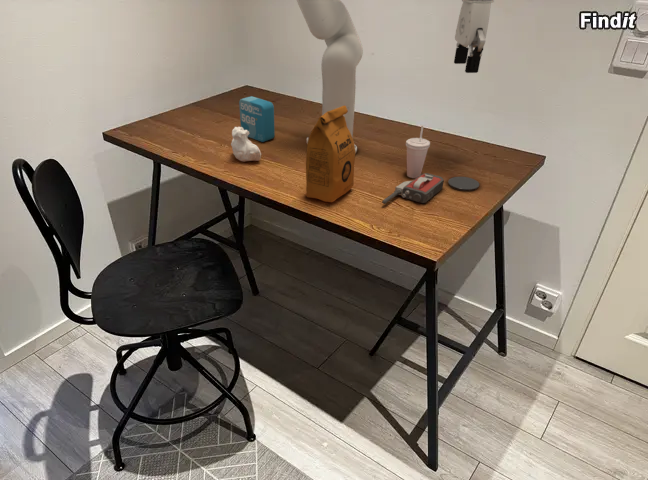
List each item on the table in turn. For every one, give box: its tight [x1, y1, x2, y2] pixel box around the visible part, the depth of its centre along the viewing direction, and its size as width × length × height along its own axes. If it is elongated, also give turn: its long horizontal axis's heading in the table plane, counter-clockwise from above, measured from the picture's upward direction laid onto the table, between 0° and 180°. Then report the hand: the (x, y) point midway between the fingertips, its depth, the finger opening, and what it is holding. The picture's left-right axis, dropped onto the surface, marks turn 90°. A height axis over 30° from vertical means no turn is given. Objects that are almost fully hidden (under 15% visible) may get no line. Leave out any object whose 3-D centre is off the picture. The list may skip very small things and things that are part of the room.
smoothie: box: [405, 125, 431, 179], centre depth 140 cm, size 6×6×14 cm
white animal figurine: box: [230, 126, 262, 163], centre depth 152 cm, size 12×8×11 cm
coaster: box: [447, 176, 480, 192], centre depth 138 cm, size 8×8×1 cm
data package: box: [238, 95, 276, 143], centre depth 167 cm, size 12×4×12 cm, turn 44°
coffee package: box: [305, 106, 356, 203], centre depth 129 cm, size 10×12×22 cm
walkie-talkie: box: [381, 172, 445, 205], centre depth 132 cm, size 9×4×20 cm
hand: (465, 67), depth 136 cm, fingers open, 9 cm apart
